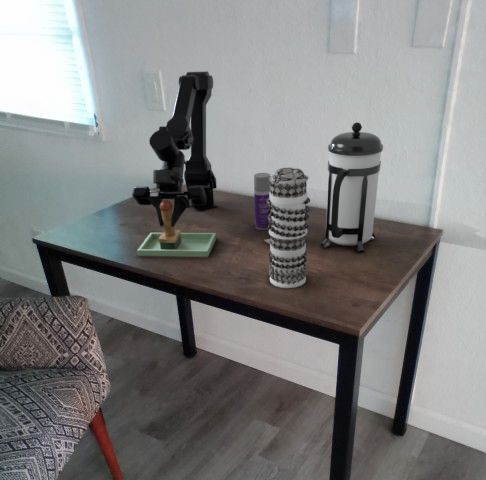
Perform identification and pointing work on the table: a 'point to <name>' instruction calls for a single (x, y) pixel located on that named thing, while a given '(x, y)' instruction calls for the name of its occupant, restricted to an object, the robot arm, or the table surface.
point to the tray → (188, 247)
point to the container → (261, 200)
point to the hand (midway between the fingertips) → (166, 226)
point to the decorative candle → (288, 227)
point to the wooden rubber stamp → (168, 228)
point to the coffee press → (352, 188)
